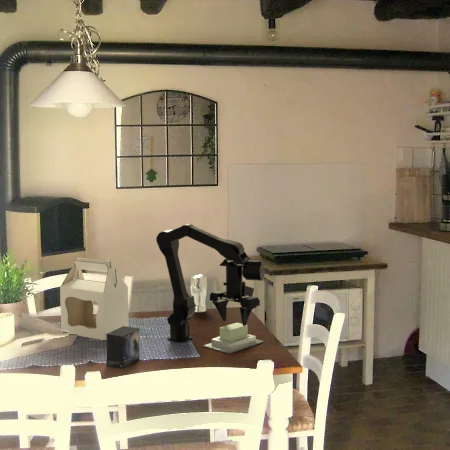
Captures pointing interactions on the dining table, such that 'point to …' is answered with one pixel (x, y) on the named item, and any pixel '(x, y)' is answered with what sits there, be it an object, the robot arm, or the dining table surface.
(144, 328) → the dining table surface
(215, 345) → the collar
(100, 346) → the dining table surface
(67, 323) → the gable box
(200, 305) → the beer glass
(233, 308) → the dining table surface
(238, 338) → the green block
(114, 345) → the small box
